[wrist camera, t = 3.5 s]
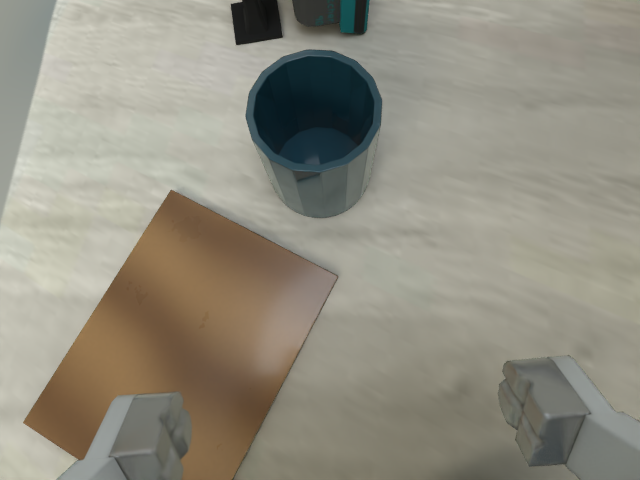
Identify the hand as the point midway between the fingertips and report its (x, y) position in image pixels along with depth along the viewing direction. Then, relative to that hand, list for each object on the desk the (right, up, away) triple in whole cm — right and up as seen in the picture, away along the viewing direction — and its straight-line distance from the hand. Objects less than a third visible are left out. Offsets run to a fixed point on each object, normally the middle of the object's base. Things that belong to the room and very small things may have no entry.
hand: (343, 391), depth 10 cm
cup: (-1, +9, +18) cm, 20 cm away
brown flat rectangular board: (-9, -3, +15) cm, 18 cm away
